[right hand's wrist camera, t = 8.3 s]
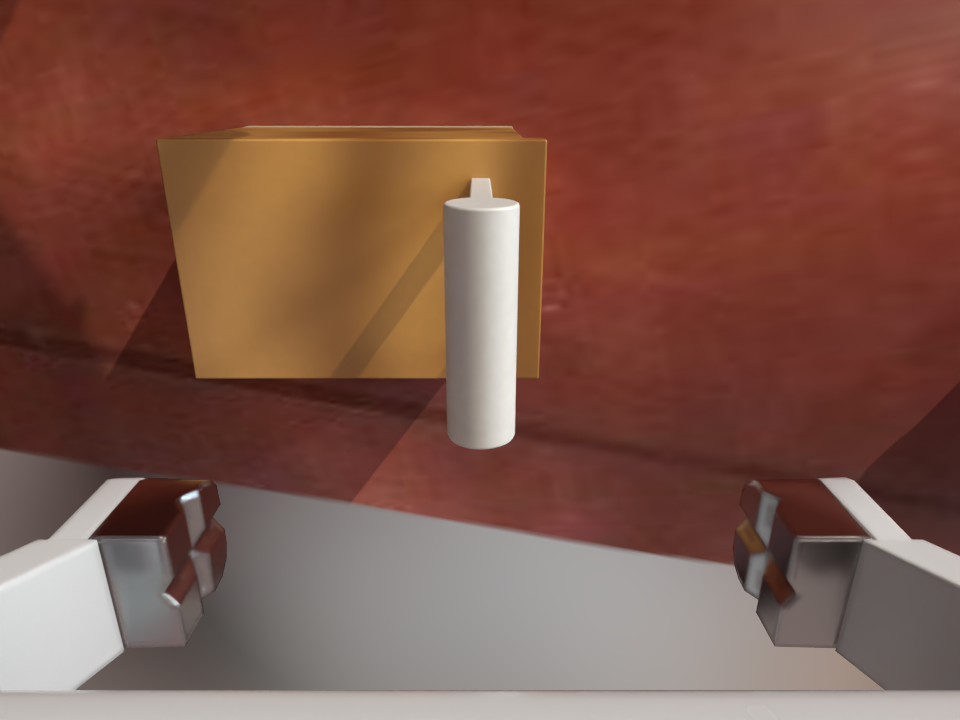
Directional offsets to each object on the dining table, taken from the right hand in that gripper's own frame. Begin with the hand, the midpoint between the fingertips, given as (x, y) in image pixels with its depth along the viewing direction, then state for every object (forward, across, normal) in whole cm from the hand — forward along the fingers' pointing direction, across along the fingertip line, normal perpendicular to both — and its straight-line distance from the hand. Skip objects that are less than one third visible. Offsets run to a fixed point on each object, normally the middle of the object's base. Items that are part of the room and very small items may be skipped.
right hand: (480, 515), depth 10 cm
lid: (+17, +5, 0) cm, 18 cm away
